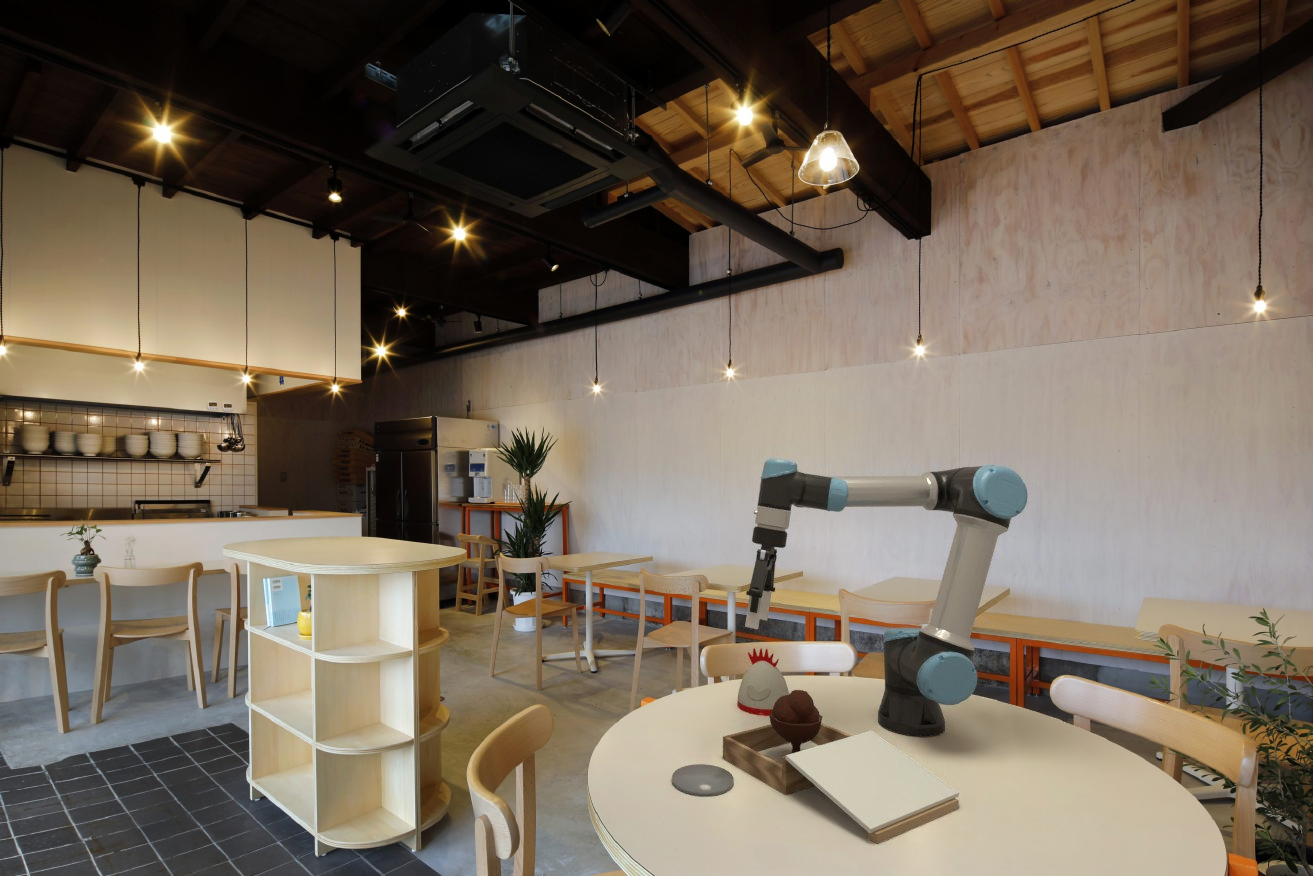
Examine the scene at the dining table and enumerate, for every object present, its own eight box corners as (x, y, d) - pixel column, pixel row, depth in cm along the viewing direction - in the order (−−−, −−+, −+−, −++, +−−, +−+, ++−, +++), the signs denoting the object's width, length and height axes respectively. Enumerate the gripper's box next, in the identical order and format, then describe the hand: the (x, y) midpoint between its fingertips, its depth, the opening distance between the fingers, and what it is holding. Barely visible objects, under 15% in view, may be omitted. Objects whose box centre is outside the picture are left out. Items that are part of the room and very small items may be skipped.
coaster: (744, 778, 127) (744, 774, 127) (715, 802, 117) (715, 798, 117) (692, 763, 134) (692, 759, 134) (660, 785, 124) (660, 781, 124)
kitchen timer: (745, 695, 178) (745, 640, 179) (795, 702, 172) (795, 645, 174) (731, 711, 165) (731, 651, 166) (784, 719, 160) (784, 657, 161)
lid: (962, 807, 116) (960, 765, 116) (873, 845, 103) (872, 799, 104) (871, 766, 133) (870, 730, 133) (785, 795, 120) (785, 755, 121)
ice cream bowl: (824, 755, 138) (823, 684, 139) (820, 777, 127) (819, 699, 129) (774, 748, 141) (774, 678, 143) (766, 769, 131) (766, 694, 132)
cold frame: (871, 766, 133) (871, 733, 133) (785, 795, 120) (785, 759, 121) (804, 736, 149) (804, 707, 149) (722, 758, 136) (722, 726, 137)
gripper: (762, 525, 157) (749, 612, 155) (744, 524, 133) (728, 627, 132) (793, 530, 155) (780, 619, 153) (780, 530, 131) (765, 636, 129)
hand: (756, 623), depth 142 cm, fingers open, 13 cm apart
